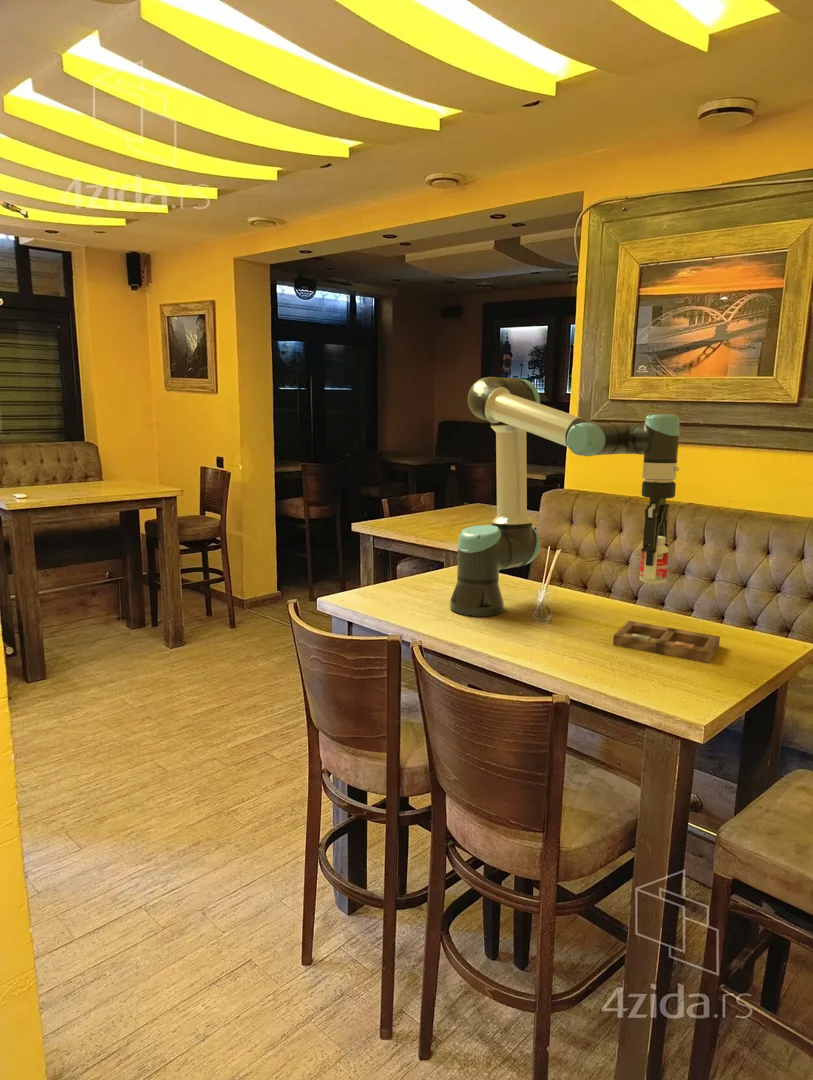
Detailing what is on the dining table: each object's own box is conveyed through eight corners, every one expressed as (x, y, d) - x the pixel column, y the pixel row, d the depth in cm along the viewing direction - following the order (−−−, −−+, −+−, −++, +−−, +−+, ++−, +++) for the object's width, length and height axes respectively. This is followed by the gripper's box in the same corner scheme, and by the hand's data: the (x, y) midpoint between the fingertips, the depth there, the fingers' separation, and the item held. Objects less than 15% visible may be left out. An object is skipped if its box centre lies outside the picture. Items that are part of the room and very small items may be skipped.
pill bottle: (649, 585, 166) (652, 539, 164) (634, 579, 172) (636, 535, 170) (671, 583, 168) (674, 538, 166) (655, 578, 174) (658, 534, 172)
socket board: (613, 644, 171) (613, 633, 171) (628, 629, 183) (629, 619, 182) (709, 663, 160) (710, 651, 159) (719, 646, 172) (720, 634, 171)
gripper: (666, 484, 156) (659, 585, 160) (684, 478, 172) (678, 570, 176) (631, 482, 160) (626, 581, 164) (652, 477, 176) (647, 567, 180)
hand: (653, 575), depth 170 cm, fingers closed on pill bottle, 6 cm apart
